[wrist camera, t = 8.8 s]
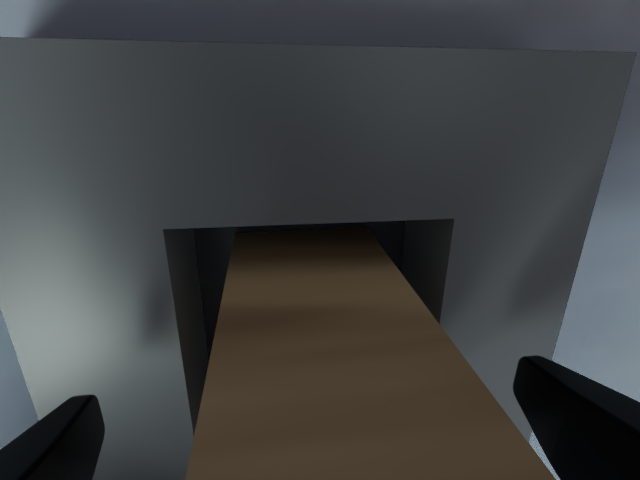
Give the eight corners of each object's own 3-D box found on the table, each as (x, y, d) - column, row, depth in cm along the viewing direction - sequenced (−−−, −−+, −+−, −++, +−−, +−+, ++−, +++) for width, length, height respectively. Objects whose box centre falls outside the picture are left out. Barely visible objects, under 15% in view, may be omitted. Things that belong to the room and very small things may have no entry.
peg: (361, 335, 13) (523, 742, 5) (244, 345, 13) (209, 814, 5) (366, 227, 12) (605, 546, 4) (234, 233, 11) (156, 621, 3)
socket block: (469, 424, 16) (513, 497, 13) (120, 463, 14) (84, 556, 11) (540, 62, 11) (636, 52, 8) (17, 52, 9) (-93, 34, 6)
